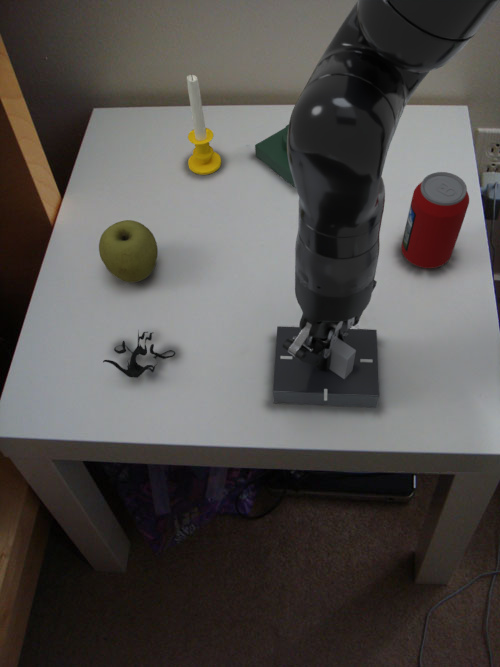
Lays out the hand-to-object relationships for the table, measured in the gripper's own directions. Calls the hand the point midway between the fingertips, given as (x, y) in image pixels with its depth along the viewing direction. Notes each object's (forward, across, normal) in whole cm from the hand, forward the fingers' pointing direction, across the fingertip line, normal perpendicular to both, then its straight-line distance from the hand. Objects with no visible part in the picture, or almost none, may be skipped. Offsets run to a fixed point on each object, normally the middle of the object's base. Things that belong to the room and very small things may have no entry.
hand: (326, 358), depth 70 cm
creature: (+3, -13, +18) cm, 23 cm away
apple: (+3, -4, +30) cm, 31 cm away
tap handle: (0, 0, 0) cm, 0 cm away
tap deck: (+3, 0, 0) cm, 3 cm away
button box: (+3, +29, +27) cm, 39 cm away
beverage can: (+3, +24, +1) cm, 24 cm away
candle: (+3, +17, +38) cm, 42 cm away
